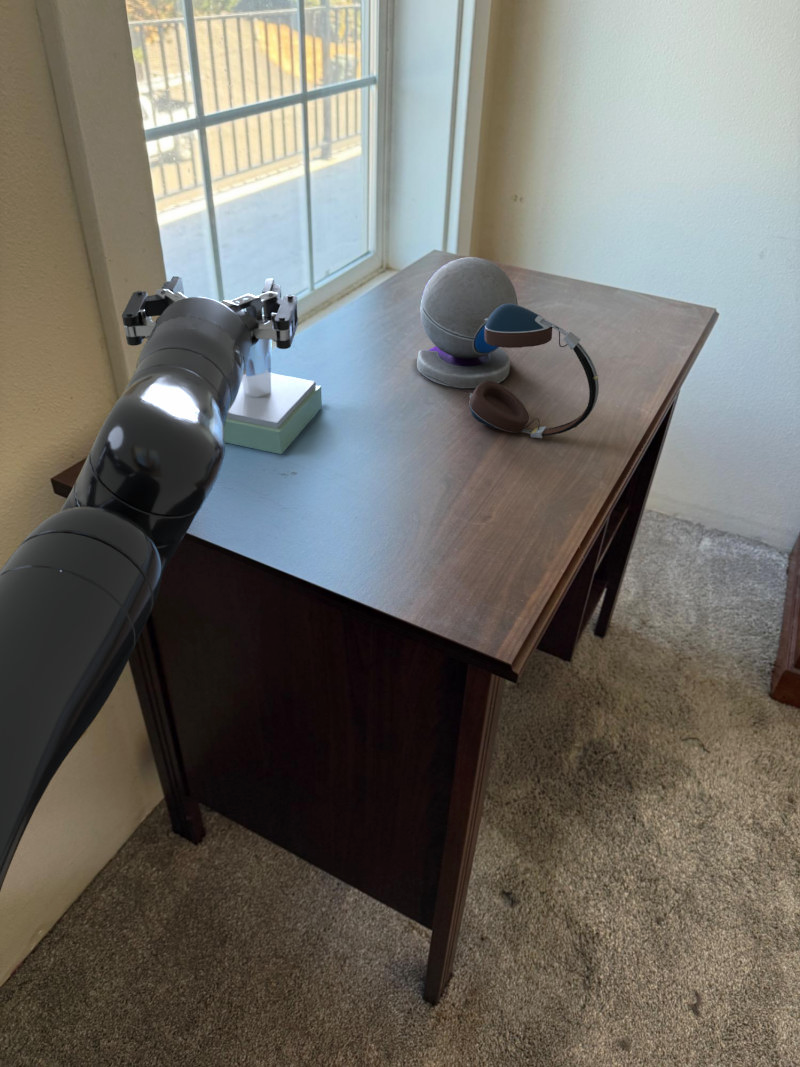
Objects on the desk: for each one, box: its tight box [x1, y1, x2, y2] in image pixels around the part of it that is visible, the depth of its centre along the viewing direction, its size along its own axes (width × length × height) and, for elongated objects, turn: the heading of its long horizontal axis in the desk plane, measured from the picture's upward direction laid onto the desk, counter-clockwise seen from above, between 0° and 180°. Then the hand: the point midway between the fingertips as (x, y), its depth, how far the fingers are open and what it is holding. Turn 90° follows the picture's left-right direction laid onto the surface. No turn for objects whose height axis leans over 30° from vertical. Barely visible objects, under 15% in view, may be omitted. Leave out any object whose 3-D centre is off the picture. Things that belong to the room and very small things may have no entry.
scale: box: [224, 372, 323, 455], centre depth 90 cm, size 12×12×4 cm
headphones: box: [420, 304, 600, 439], centre depth 88 cm, size 6×15×22 cm
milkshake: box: [242, 339, 273, 397], centre depth 86 cm, size 4×5×10 cm
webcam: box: [416, 256, 519, 389], centre depth 100 cm, size 13×13×15 cm
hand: (225, 287), depth 70 cm, fingers open, 8 cm apart
